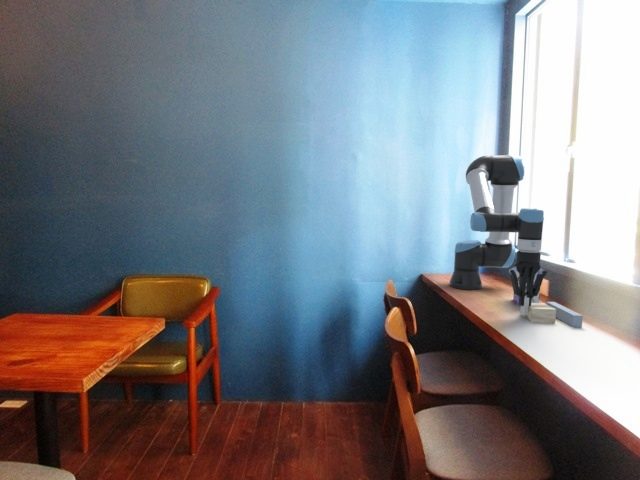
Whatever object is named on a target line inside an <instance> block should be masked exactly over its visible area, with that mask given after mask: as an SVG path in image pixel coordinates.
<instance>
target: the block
mask: <svg viewBox="0 0 640 480" xmlns="http://www.w3.org/2000/svg"><path fill="white" fill-rule="evenodd" d="M520 315H521V317H523V318H525V319H526V320H528V321H529V322H531V323H548V324H549V323H550V324H551V323H552V324H556V319H557V318H556V309H554V308H552V307H550V306H548V305H547V304H546V303H545V302H539V303H531V306H529V308H528V315H523V314H521V313H520Z"/></svg>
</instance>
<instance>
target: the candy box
mask: <svg viewBox="0 0 640 480" xmlns="http://www.w3.org/2000/svg"><path fill="white" fill-rule="evenodd" d="M537 274H538V272H537V273H536V274H535V279H536V276H537ZM516 275H517V279H518V285H519V283H520V277H519V273H518V271H517V273H516ZM535 279H534V282H535ZM533 285H534V283H533ZM526 286H527V279H526ZM540 295H541V289H540V290H539V293H538V295H537V296H533V298H532V300H531V303H540ZM525 296H526V291H525ZM512 297H513V298H512V299H513V301H514V302H516V303H517V304H518V305H519V296H518V295H516V294H514V293H513V296H512Z"/></svg>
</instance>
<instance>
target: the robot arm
mask: <svg viewBox="0 0 640 480" xmlns="http://www.w3.org/2000/svg"><path fill="white" fill-rule="evenodd" d="M524 176H525V164H524V160H523V158H522V157H521V156H520V155H518V154H517V155H516V154H515V155H514V154H503V155H500V154H499V155H482V156H480V157H478V158H475V160H473V161H472V162H471V163H470V164H469V165H468V167H467V169H466V171H465V182H466V183H467V185H469V189H470V196H471V201H472V206H473V212H472V214H471V215H470V219H469V220H470V221H469V223H470V227H469V228H470V230H471V231H473V232H480V233H485V232H486V233H489V234H488V237H487V238H485V239H484V241H485V242H484V243H482V241H480V240H478V239H477V240H476V239H475V240H461V241H458V242H457V243H456V244H455V248H454V262H453V263H454V265H453V268H454V269H453V273H452V274H451V278H450V280H449V286H450V287H452V288H454V289H460V290H466V291H477V290H482V288H483V283H482V279H481V276H480V275H481V274H480V268H496V269H504V268H505V269H508V270H507V272H508V273H509V275H510V280H511V286H512V291H513V295H514V294H516V295H518V296H519V304H518V305H519V306H520V312H519V314H520V315H521V314H523V315H528V308H529V306H531V300H532V298H533V296H537V295H538V293H539V290H540V291H541V286H542V283H543V280H544V278H545V276H546V275H547V273H548V271H547V270H544V269H543V268H541V264H540V263H541V251H542V241H543V227H544V221H545V217H544V213H545V212H544V209H542V208H529V207H528V208H526V207H525V208H523V207H522V208H521V209H520V210H519V212H512V210H513V202H514V192H515V191H514V190H515V188H516V187H518V186H519V182H521V181H523V180H524ZM489 182H490V185H489ZM490 186H491V187H492V188H493V193H491V189H490ZM510 233H517V244H516V246H515V245H514V244H513V241H512V240H511V239H510ZM516 249H517V251H516ZM515 257H516V258H515ZM515 259H516V260H515ZM514 260H515V264H514V266H513V267H512V268H510V267H511V266H512V265H513V263H514ZM517 271H518V273H519V277H520V283H519V285H518V279H517V275H516V273H517ZM537 272H538V274H537V276H536V279H535V274H536V273H537ZM526 279H527V286H526ZM534 279H535V282H534ZM533 283H534V285H533ZM525 291H526V296H525Z"/></svg>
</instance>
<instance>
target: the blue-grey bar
mask: <svg viewBox="0 0 640 480" xmlns="http://www.w3.org/2000/svg"><path fill="white" fill-rule="evenodd" d="M545 304H547V305H548V306H550V307H552V308H554V309H556V318H555V319H558V320H560V321H562V322H564V323H566V324H567V325H569V326H571V327H573V328H574V327H576V328H582V327H583V317H584V315H583V314H581V313H579V312H576V311H575V310H572V309H569V308H568V307H566V306H564V305H562V304H560V303H558V302H555V301H546V303H545Z"/></svg>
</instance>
